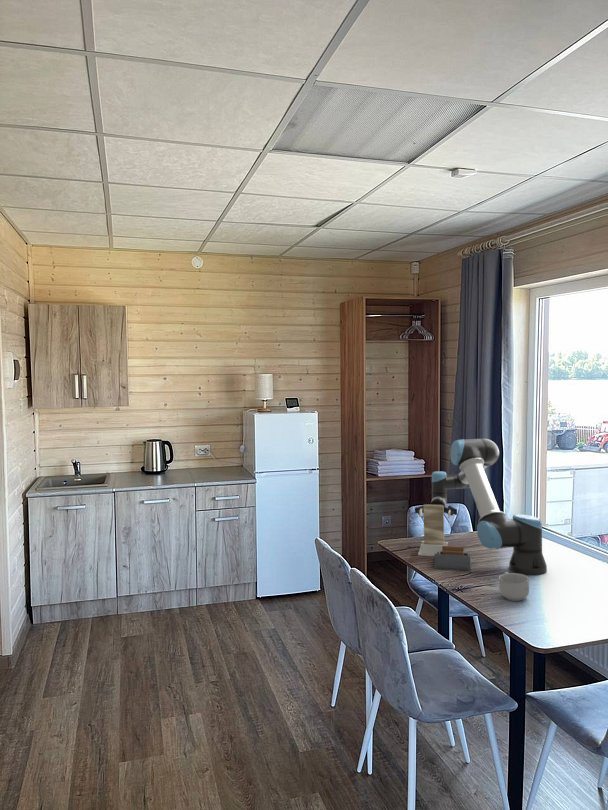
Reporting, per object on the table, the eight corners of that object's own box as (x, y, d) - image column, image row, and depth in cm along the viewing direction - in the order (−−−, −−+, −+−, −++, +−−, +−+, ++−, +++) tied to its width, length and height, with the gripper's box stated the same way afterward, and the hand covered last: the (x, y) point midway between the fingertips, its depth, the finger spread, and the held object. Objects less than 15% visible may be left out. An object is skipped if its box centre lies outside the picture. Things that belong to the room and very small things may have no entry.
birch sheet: (424, 550, 285) (424, 504, 284) (444, 551, 283) (443, 505, 282) (424, 552, 283) (423, 505, 282) (444, 553, 280) (443, 506, 279)
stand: (420, 552, 290) (420, 539, 289) (450, 553, 285) (450, 541, 285) (418, 558, 280) (417, 545, 280) (448, 560, 276) (448, 547, 276)
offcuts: (442, 563, 267) (442, 545, 267) (463, 564, 264) (463, 546, 264) (441, 567, 261) (441, 549, 261) (463, 568, 258) (463, 550, 258)
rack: (437, 561, 274) (436, 545, 274) (471, 563, 270) (471, 547, 270) (434, 571, 260) (434, 554, 260) (470, 574, 256) (470, 556, 255)
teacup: (532, 604, 221) (531, 582, 221) (501, 603, 223) (501, 581, 223) (524, 590, 235) (524, 570, 235) (495, 589, 237) (495, 569, 236)
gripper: (463, 513, 304) (461, 523, 284) (413, 511, 311) (408, 521, 291) (463, 499, 304) (461, 508, 284) (413, 497, 311) (407, 506, 291)
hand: (434, 514), depth 287 cm, fingers open, 13 cm apart
